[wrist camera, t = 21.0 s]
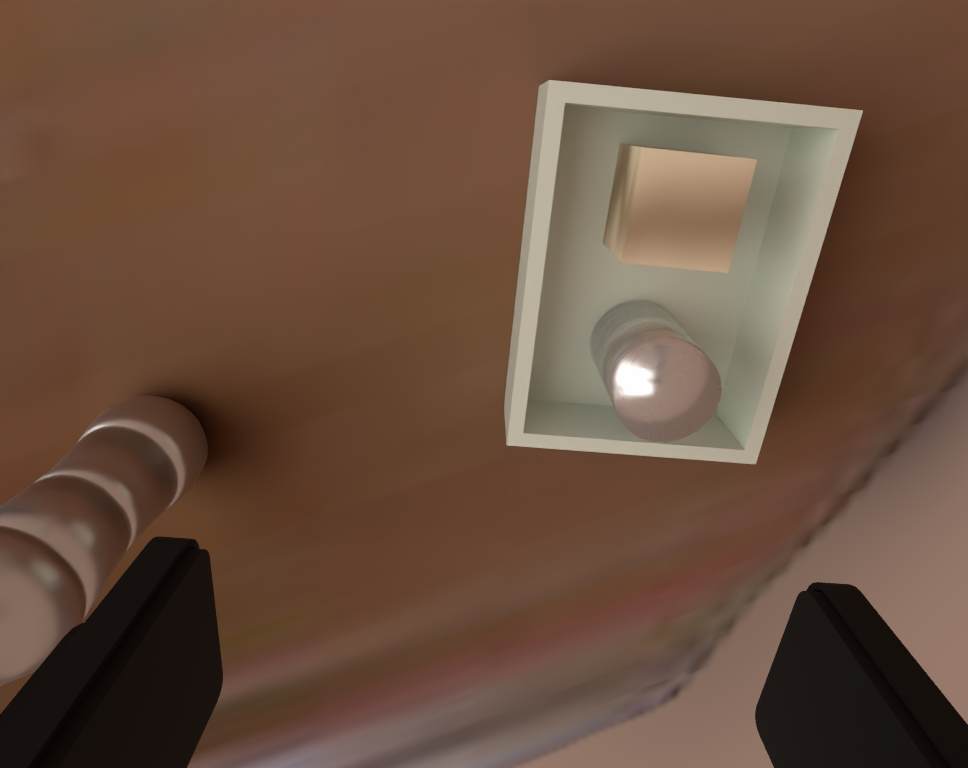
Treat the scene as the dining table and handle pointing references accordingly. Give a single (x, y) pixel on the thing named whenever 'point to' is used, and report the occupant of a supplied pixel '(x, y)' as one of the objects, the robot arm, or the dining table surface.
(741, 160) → the maple cube
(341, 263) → the dining table surface
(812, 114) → the tote
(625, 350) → the steel cylinder
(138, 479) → the plastic bottle
